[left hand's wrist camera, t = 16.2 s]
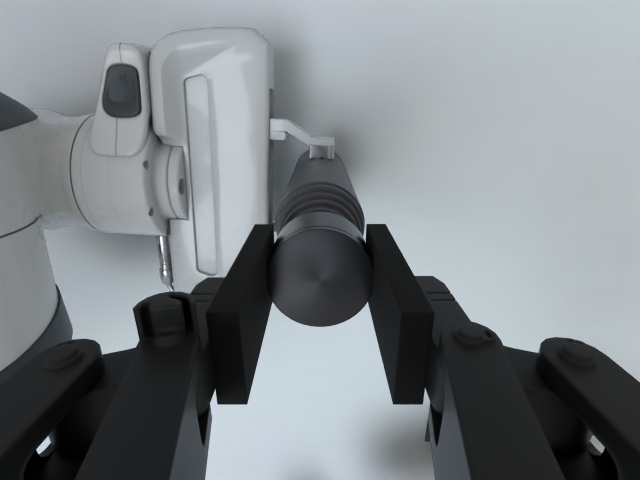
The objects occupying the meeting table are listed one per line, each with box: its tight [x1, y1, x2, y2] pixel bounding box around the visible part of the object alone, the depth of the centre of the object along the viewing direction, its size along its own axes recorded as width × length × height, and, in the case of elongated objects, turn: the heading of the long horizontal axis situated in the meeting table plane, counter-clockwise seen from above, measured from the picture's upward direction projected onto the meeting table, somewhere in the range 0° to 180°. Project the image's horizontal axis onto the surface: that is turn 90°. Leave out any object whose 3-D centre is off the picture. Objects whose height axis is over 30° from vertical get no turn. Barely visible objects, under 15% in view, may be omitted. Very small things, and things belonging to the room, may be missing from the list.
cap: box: [267, 212, 374, 327], centre depth 13 cm, size 4×4×2 cm
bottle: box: [276, 150, 365, 237], centre depth 23 cm, size 5×5×21 cm
